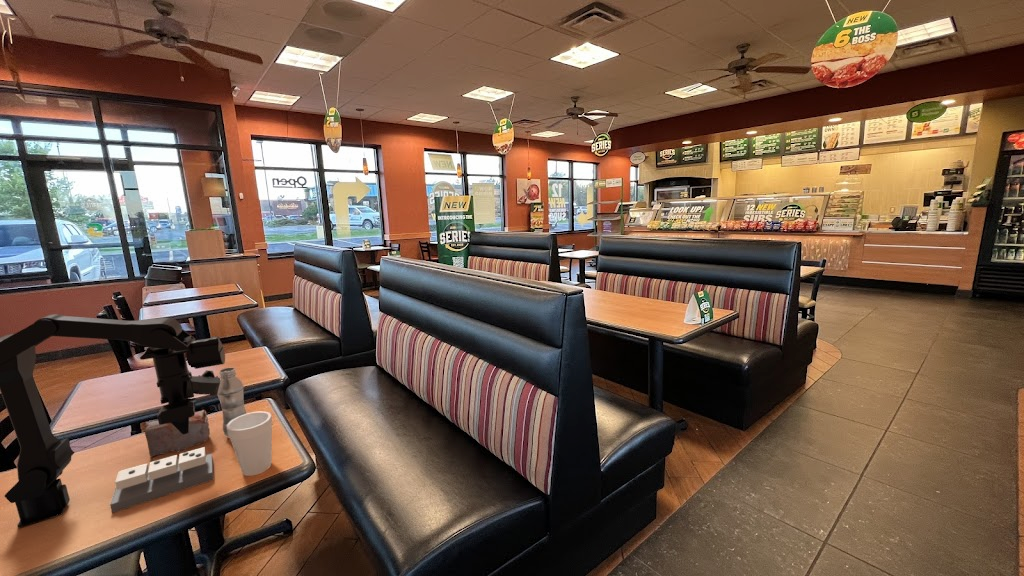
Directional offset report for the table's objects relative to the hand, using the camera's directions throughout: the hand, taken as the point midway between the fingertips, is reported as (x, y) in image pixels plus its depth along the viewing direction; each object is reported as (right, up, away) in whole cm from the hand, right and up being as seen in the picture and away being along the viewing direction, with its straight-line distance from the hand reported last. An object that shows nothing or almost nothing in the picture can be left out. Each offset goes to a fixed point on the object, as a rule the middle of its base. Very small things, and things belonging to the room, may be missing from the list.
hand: (185, 433), depth 100 cm
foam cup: (+14, -11, +5) cm, 18 cm away
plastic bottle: (-1, -8, +21) cm, 22 cm away
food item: (-13, -9, +16) cm, 23 cm away
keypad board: (-4, -12, -1) cm, 13 cm away
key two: (-4, -9, -1) cm, 9 cm away
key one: (-8, -9, -4) cm, 13 cm away
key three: (0, -8, +2) cm, 8 cm away
